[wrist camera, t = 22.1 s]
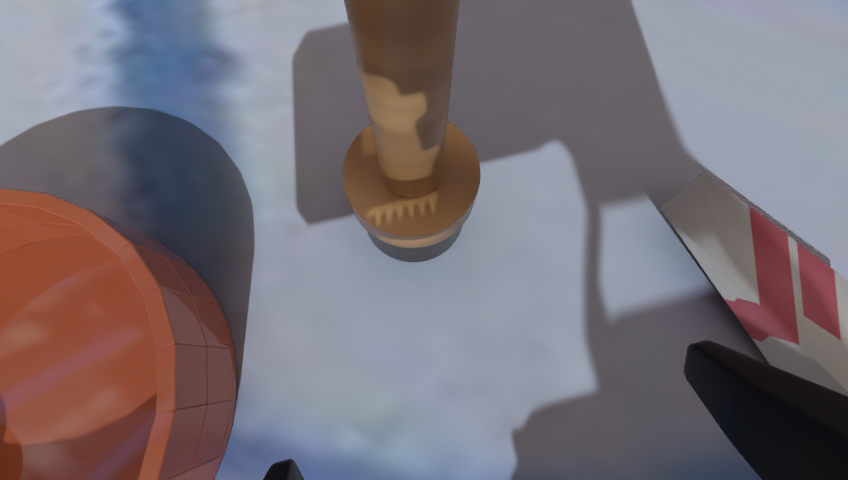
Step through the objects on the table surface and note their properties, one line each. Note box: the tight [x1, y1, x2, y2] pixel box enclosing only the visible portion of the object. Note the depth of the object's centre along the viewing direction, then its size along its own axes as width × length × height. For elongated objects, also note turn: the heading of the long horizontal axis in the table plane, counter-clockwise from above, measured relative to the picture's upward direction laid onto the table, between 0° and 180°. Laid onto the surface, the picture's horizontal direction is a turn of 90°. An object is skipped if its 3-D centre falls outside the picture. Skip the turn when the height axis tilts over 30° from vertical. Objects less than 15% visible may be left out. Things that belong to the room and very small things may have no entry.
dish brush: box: [342, 0, 480, 262], centre depth 13 cm, size 5×5×13 cm
